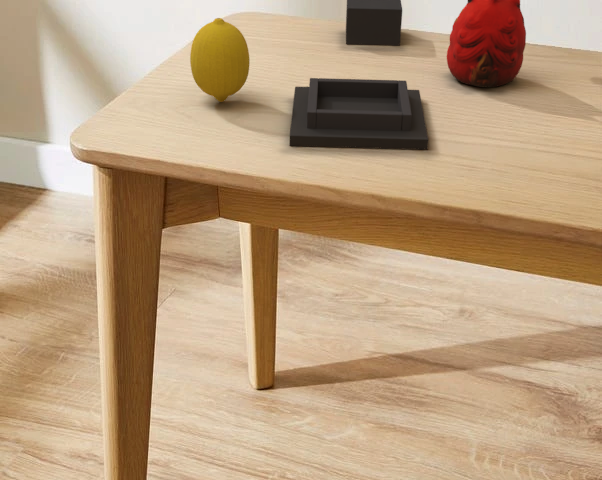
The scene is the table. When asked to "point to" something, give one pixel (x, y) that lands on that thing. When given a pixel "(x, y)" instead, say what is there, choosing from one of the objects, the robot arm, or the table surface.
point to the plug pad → (373, 22)
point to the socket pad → (358, 115)
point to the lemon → (219, 59)
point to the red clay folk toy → (487, 43)
